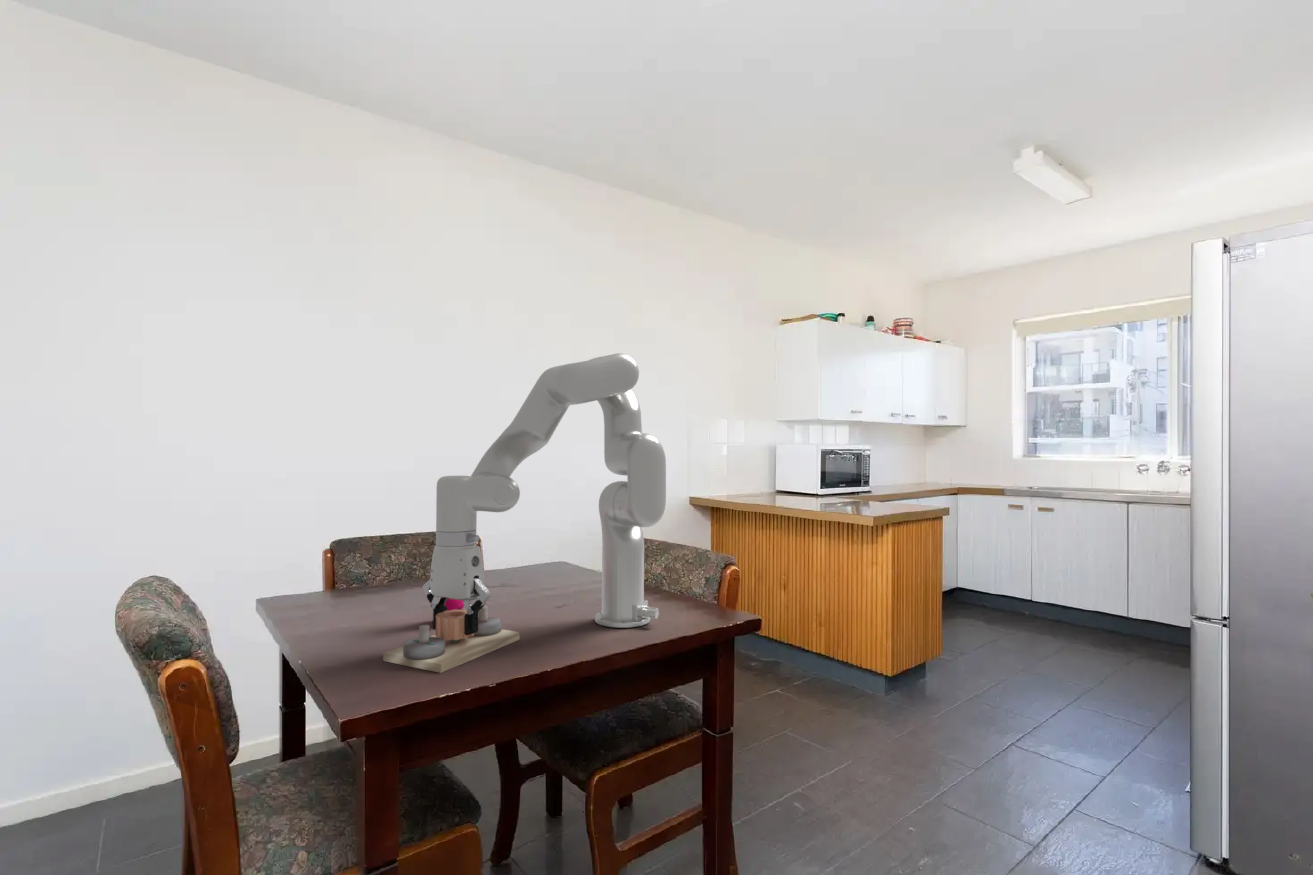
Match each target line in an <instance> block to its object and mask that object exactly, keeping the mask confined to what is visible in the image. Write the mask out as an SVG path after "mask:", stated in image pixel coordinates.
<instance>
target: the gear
mask: <svg viewBox="0 0 1313 875" xmlns="http://www.w3.org/2000/svg"><path fill="white" fill-rule="evenodd" d="M465 614H467V611H466V608H462V610H457V609H455V610H451V611H444V612H442V613H438V614H437V615H436V630H435V634H436V637H439V638H442V639H444V640H459V639H462V638H464V639H466V638H468V637H469V636H473V635H474V634H475V633H473V634H470V635H465V634H464V616H465Z"/></svg>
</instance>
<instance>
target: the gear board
mask: <svg viewBox="0 0 1313 875" xmlns="http://www.w3.org/2000/svg"><path fill="white" fill-rule="evenodd" d="M488 611H489V609H488V606H487V605H484V606H483V607H482V608H481V611H479V612H478V632H476V633H475V634H474V635H473V636H469V637H468V638H466V639H464V638H462V639H459V640H444V639H442V638H439V637H436V633H435V634H433V635H430V633H431V632H430V628H431V627H430V625H429V624H422V625H421V624H420V625H419V626H418V632H419V633H418V637H415V638H412V639H409V640H406V641H404V642H403V644H402V646H398V647H396V648H393V649H391V650H390V649H389V650H387V651H384V652H383V654H382V660H383V662H387V663H392V664H396V665H401V666H406V667H411V668H415V669H420V670H426V671H430V672H435V673H439V674H442V673H445V672H446V671H448V670H451V669H454V668H456V667H458V666H460V665H463V664H466V663H468V662H471V661H472V660H474V659H477V658H480V657H482V656H484V655H486V654H489V653H492V652H493V651H497V650H498V649H501V648H502V647H505V646H507V645H510V644H513V643H515V642H517V641H519V640H521V639H520V638H521V637H520V634H521V633H520V631H515V630H509V629H503V628H502V619H500V618H498V617H493V616H489V615H488V613H489V612H488Z"/></svg>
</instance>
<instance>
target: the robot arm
mask: <svg viewBox="0 0 1313 875" xmlns="http://www.w3.org/2000/svg"><path fill="white" fill-rule="evenodd" d="M639 377H640V370H639V365H638V363H637V362H636V360H635V359H634V358H632V357H631V356H630V355H628V354H625V353H621V352H620V353H618V352H617V353H613V354H608V355H602V356H598V357H593V358H591V359H588V360H584V361H577V362H572V363H565V364H561V365H556V366H553V367H549V368H548V369H546V370H544V371H543V372H542V373H541V375H540V376H539V377H538V378H537V380H536V382H535V383H534V385H533V387H532V389H531V390H530V391H529V393H528V395H527V397H526V398H525V400H524V402H523V404H522V405H521V406H520V408H519V410H518V412H517V413H516V415H515V417H514V418H513V419H512V421H511V423H510V424H509V425H508V426H507V427H506V428H505V429H504V430H503V431H502V433H501V434H500V436H498V437H497V438H496V439H495V440H494V442H493V443H492V444H491V445H490V447H489V448H488V449H487V450H486V451H485V453H484V454H483V455H482V457H481V458H480V460H479V462H478V464H476V467H475V468H474V470H473V472H472V474H471V475H445V476H441V477H439V478H438V480H437V482H436V496H435V497H436V502H435V503H436V504H435V505H436V506H435V507H436V508H435V509H436V511H435V512H436V514H435V516H436V517H435V518H436V519H435V545H434V547H433V553H432V557H431V564H430V577H429V579H428V580H427V581H426V582H425V583H424V584H423V585H422V590H423V592H424V594H425V595H426V599H427V600H428V602H429V603H430V606H429V607H430V609H431V610H432V611H433V612H432V618H433V619H432V628H433V629H432V630H434V631H436V615H437V614H438V613H442V612H444V611H447V606H444V605H445V603H446V601H447V599H455V600H463V603H464V609H466V611H467V614H465V616H464V634H465V635H470V634H473V633H476V632H478V613H479V611H481V608H482V607H483V606H486V604H487V602H488V600H489V598H490V597H491V595H492V594H491V591H489V589H488V588H487V587H486V586H485V575H484V563H483V556H482V552H481V548H480V546H479V545H477V543H478V542H480V535H479V534H477V522H478V521H477V513H478V512H488V513H505V512H508V511H510V510H511V509H513V508H514V507H515V506H516V505H517V504H518V502H519V500H520V495H521V493H520V492H521V491H520V487H519V485H518V483H517V482H516V481H515V479H513V478H511V476H512V474H513V473H514V471H515V470H516V469H517V468H518V466H519V465H521V464H522V463H523V461H524V460H526V459H527V458H529V457H530V456H532V455H534V454H535V453H537V452H538V451H540V450H541V449H543V448H544V447H545V446H546V445H548V443H549V441H550V440H551V438H552V436H553V434H554V433H555V431H556V430H557V427H558V426H559V424H560V423H561V421H562V419H563V417H564V415H565V414H566V413H567V410H568V409H569V407H570V406H573V405H581V404H582V405H583V404H587V403H591V402H594V401H597V402H598V404H599V405H600V407H601V410H602V413H603V425H604V426H603V429H604V431H603V436H604V441H603V442H604V443H603V444H604V445H603V448H604V451H603V454H604V463H605V466H606V468H607V470H609V471H610V472H611V473H613V474H615V475H619V476H627V477H626V478H627V479H626V480H627V481H626V480H625V481H624V480H620V481H619V480H617V481H614V482H611V483H609V484H608V485H607V486H605V487H604V488H603V489H602V492H600V495H599V499H598V513H599V517H600V518H599V519H600V524H601V538H602V540H601V541H602V543H601V544H602V548H601V549H602V551H601V560H602V561H601V611H599V612H597V613H596V614H595V615H594V622H595V623H596V624H598V625H599V626H602V627H609V628H617V629H619V628H620V629H625V628H635V627H636V628H637V627H641V626H644V625H647V624H649V623H650V621H651V619H656V620H657V619H658V618H659V615H660V611H659V608H658V607H653V606H651V607H650V606H649V600H648V599H647V600H646V599H645V596H644V595H645V594H644V593H645V591H644V590H645V539H644V532H643V529H642V528H650V527H653V526H656V525H657V524H658V523H659V522H660V521H661V520H662V517H663V515H664V513H665V510H666V503H667V461H666V454H665V450H664V447H663V444H662V443H661V442H660V440H659V439H658V438H656V437H655V436H653V435H652V434H649V433H643V429H642V427H643V426H642V412H641V407H640V403H639V400H638V397H637V395H635V392H634V391H633V390H632V389H633V388H635V386H636V384H637V383H638V380H639ZM433 609H434V610H433Z"/></svg>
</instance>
